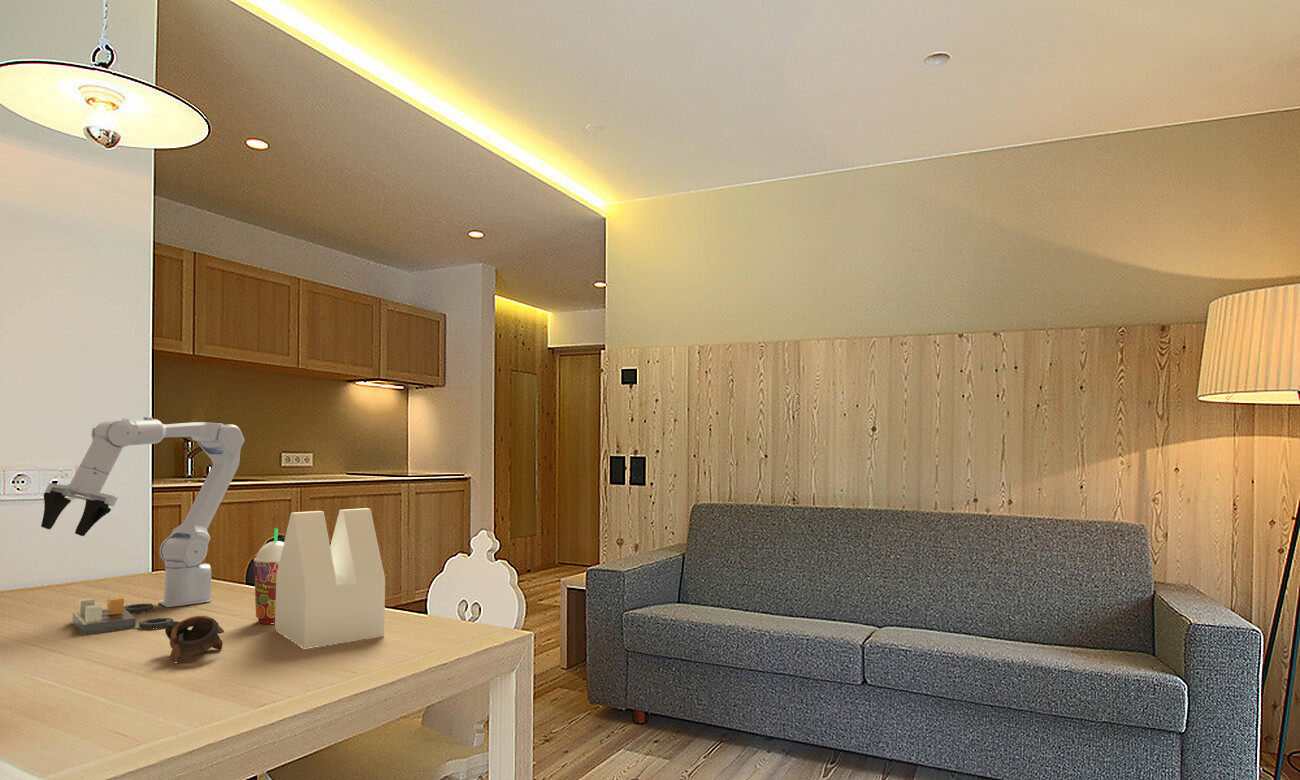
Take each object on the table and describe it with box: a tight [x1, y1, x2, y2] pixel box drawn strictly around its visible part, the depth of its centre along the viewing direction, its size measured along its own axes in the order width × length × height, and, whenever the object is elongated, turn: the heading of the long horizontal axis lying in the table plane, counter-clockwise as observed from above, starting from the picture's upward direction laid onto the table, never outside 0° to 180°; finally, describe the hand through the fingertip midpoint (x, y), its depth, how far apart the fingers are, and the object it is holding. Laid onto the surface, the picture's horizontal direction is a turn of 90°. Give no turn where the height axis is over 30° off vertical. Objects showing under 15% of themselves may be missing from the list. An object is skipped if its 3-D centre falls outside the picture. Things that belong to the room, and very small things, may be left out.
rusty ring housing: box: [164, 615, 225, 663], centre depth 142 cm, size 12×9×8 cm
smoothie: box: [253, 528, 284, 625], centre depth 170 cm, size 8×8×20 cm
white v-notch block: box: [274, 507, 386, 648], centre depth 160 cm, size 19×15×25 cm
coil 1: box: [124, 603, 154, 615], centre depth 178 cm, size 6×6×1 cm
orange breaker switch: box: [106, 596, 125, 615], centre depth 167 cm, size 2×3×3 cm
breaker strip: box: [72, 597, 137, 636], centre depth 165 cm, size 9×14×5 cm, turn 43°
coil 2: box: [138, 617, 174, 630], centre depth 164 cm, size 6×6×1 cm
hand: (62, 531), depth 164 cm, fingers open, 7 cm apart
